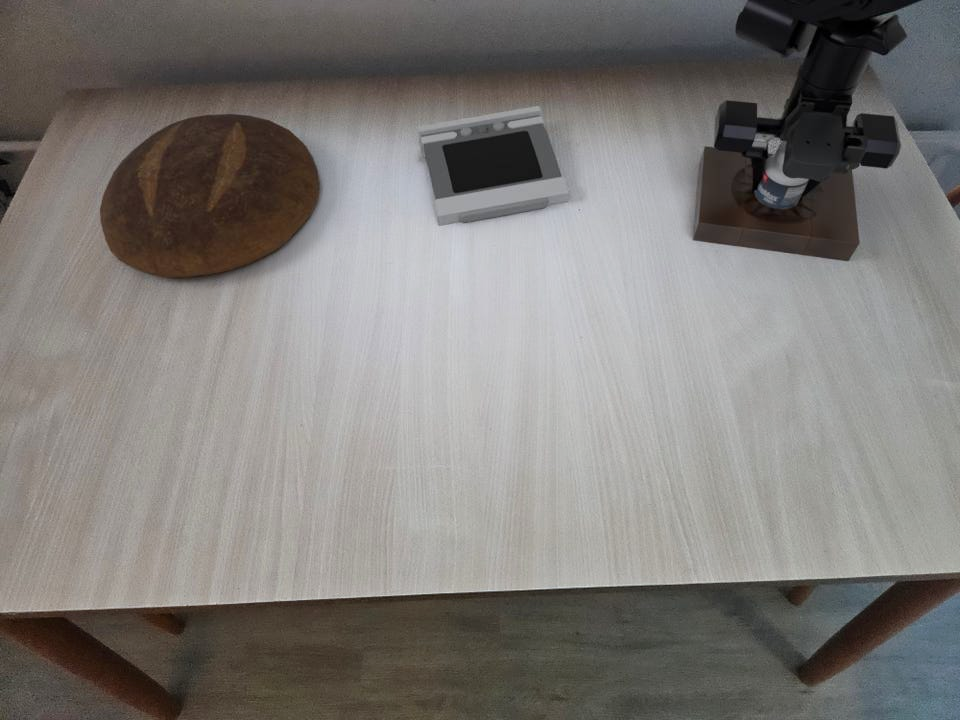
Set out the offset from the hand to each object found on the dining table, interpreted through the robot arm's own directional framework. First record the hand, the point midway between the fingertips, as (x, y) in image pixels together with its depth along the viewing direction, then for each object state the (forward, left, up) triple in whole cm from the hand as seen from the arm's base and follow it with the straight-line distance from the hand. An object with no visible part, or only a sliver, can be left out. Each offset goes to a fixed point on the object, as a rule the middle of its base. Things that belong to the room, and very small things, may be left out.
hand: (778, 190), depth 79 cm
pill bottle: (0, 0, -3) cm, 3 cm away
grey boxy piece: (+36, 0, -3) cm, 36 cm away
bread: (+71, +13, -3) cm, 72 cm away
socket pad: (0, 0, -3) cm, 3 cm away
